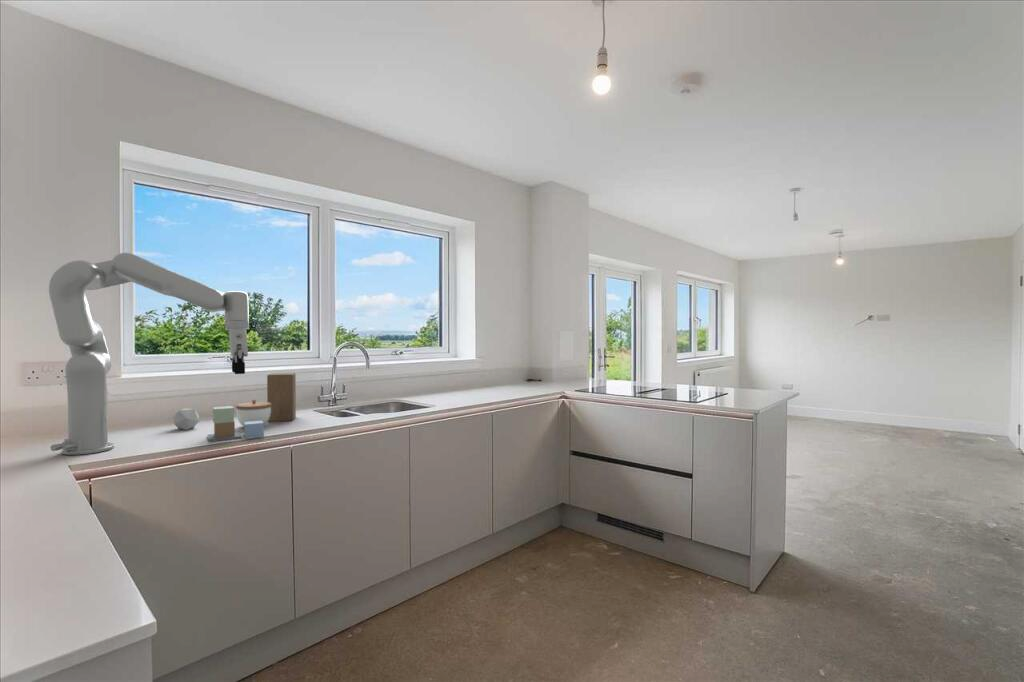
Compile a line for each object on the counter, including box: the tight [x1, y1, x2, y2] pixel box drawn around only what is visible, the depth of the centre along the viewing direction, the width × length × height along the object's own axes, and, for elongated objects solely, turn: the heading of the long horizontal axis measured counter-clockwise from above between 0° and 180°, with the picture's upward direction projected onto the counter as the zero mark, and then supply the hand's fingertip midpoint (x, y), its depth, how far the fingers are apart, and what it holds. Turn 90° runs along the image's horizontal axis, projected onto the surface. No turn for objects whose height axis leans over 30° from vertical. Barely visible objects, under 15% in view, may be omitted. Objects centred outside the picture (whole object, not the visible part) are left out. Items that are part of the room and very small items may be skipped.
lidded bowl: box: [235, 398, 272, 427], centre depth 198 cm, size 13×13×11 cm
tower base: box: [207, 421, 242, 442], centre depth 177 cm, size 10×10×6 cm
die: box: [172, 407, 200, 431], centre depth 193 cm, size 8×9×10 cm
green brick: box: [212, 405, 235, 425], centre depth 177 cm, size 6×6×5 cm
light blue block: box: [243, 421, 265, 439], centre depth 181 cm, size 6×6×5 cm
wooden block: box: [266, 372, 297, 423], centre depth 214 cm, size 10×10×20 cm
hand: (238, 372), depth 179 cm, fingers open, 9 cm apart
